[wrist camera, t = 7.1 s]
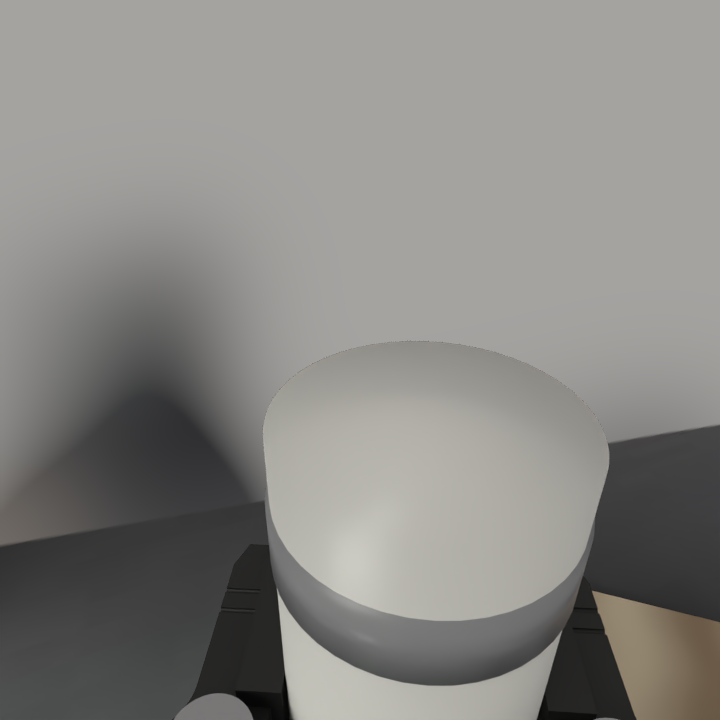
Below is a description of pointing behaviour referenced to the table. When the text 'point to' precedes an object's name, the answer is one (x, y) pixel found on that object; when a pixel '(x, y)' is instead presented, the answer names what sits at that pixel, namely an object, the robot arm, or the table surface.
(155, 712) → the table surface
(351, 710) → the thermos bottle
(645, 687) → the oak pad
